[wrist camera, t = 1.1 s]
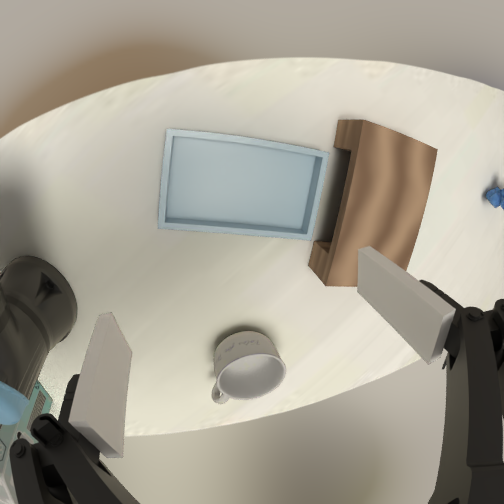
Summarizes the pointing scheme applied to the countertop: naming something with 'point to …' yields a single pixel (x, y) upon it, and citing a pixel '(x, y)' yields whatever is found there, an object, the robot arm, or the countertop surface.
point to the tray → (239, 185)
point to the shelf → (375, 200)
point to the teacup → (246, 367)
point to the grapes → (496, 197)
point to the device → (3, 491)
